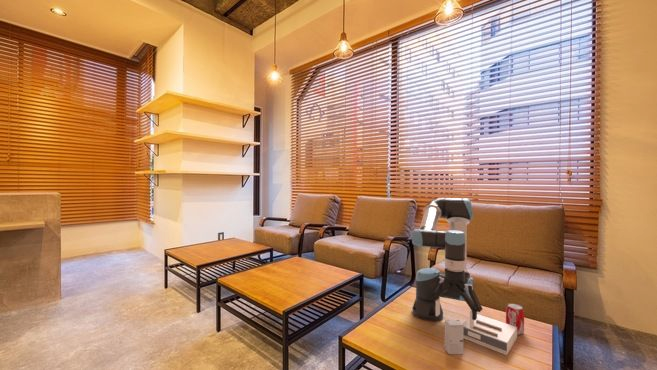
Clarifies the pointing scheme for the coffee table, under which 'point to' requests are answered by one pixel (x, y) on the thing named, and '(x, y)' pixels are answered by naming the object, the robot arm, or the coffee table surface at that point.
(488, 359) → the coffee table surface
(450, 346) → the skincare box
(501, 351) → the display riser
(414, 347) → the coffee table surface
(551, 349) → the coffee table surface
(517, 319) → the soda can
